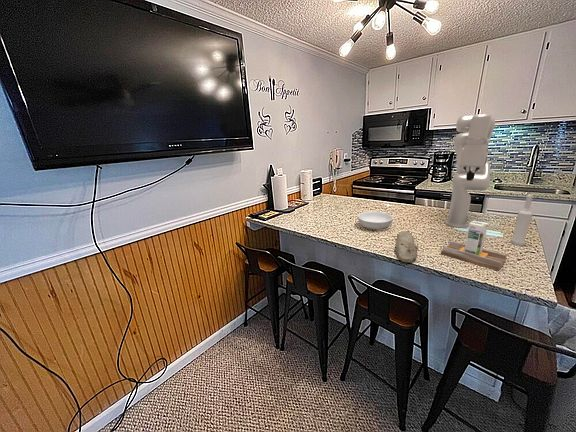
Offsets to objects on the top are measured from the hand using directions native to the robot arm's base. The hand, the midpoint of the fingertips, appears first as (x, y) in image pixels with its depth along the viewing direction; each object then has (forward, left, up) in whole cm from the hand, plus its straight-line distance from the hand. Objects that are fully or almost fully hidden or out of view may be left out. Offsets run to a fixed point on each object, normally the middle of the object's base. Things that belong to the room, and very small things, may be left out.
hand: (469, 180), depth 123 cm
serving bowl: (+14, -43, -32) cm, 55 cm away
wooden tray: (+19, +11, -32) cm, 39 cm away
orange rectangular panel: (+19, +11, -30) cm, 38 cm away
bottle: (-12, +22, -32) cm, 41 cm away
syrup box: (+19, +11, -30) cm, 37 cm away
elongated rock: (+29, -15, -33) cm, 46 cm away
